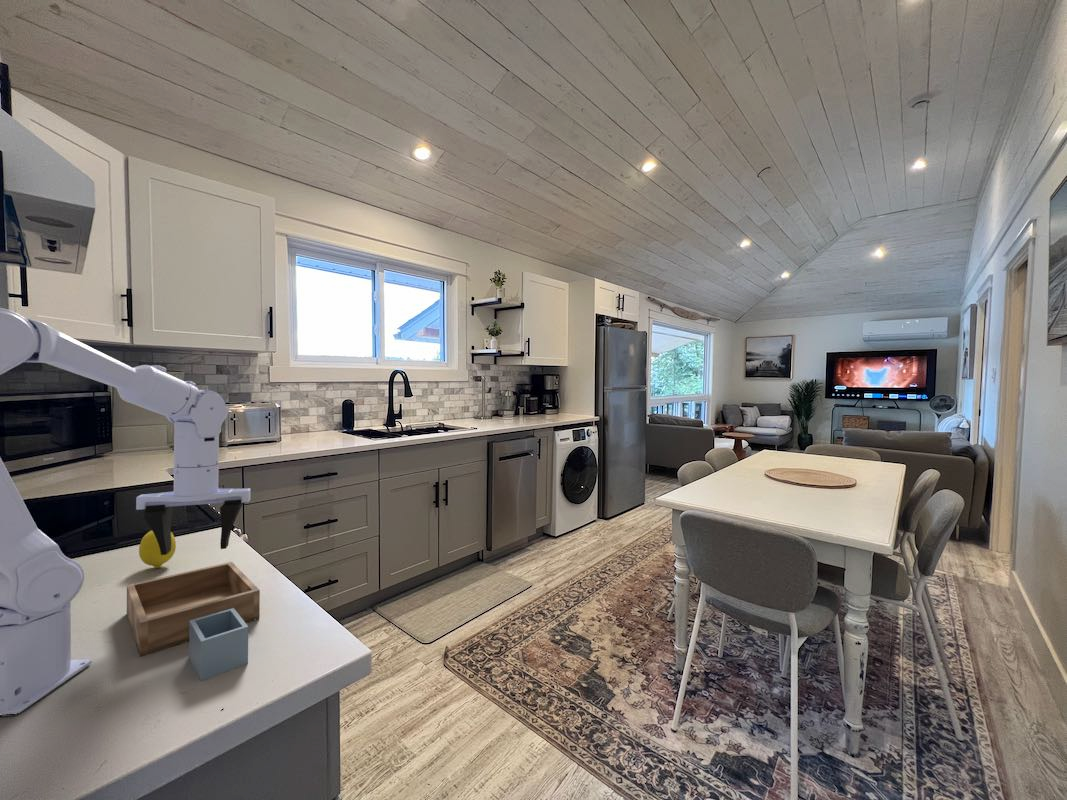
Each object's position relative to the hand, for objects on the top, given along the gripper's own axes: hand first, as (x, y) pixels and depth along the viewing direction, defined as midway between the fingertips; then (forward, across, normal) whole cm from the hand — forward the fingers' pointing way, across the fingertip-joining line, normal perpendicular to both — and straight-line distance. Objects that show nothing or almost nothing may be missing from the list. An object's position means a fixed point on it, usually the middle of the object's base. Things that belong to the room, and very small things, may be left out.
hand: (195, 549), depth 72 cm
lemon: (+10, +11, -23) cm, 27 cm away
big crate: (+10, 0, +2) cm, 10 cm away
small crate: (+10, -6, +17) cm, 21 cm away
